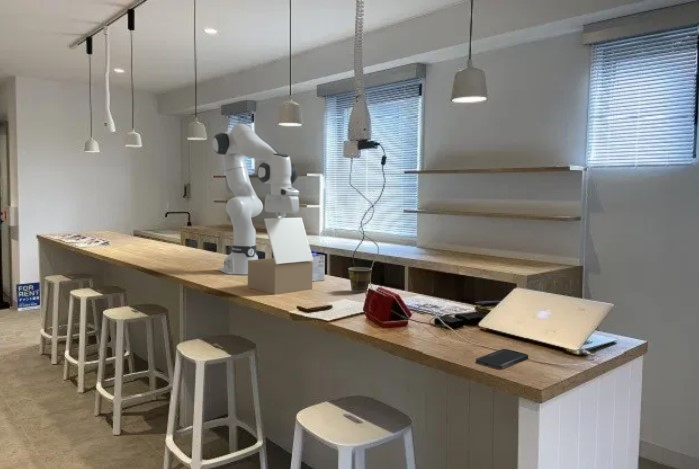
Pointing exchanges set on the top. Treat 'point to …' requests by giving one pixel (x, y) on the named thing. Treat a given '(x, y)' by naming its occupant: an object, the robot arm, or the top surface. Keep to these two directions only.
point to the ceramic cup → (359, 279)
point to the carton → (279, 276)
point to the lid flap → (288, 240)
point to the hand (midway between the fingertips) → (281, 223)
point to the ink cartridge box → (318, 266)
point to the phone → (502, 358)
